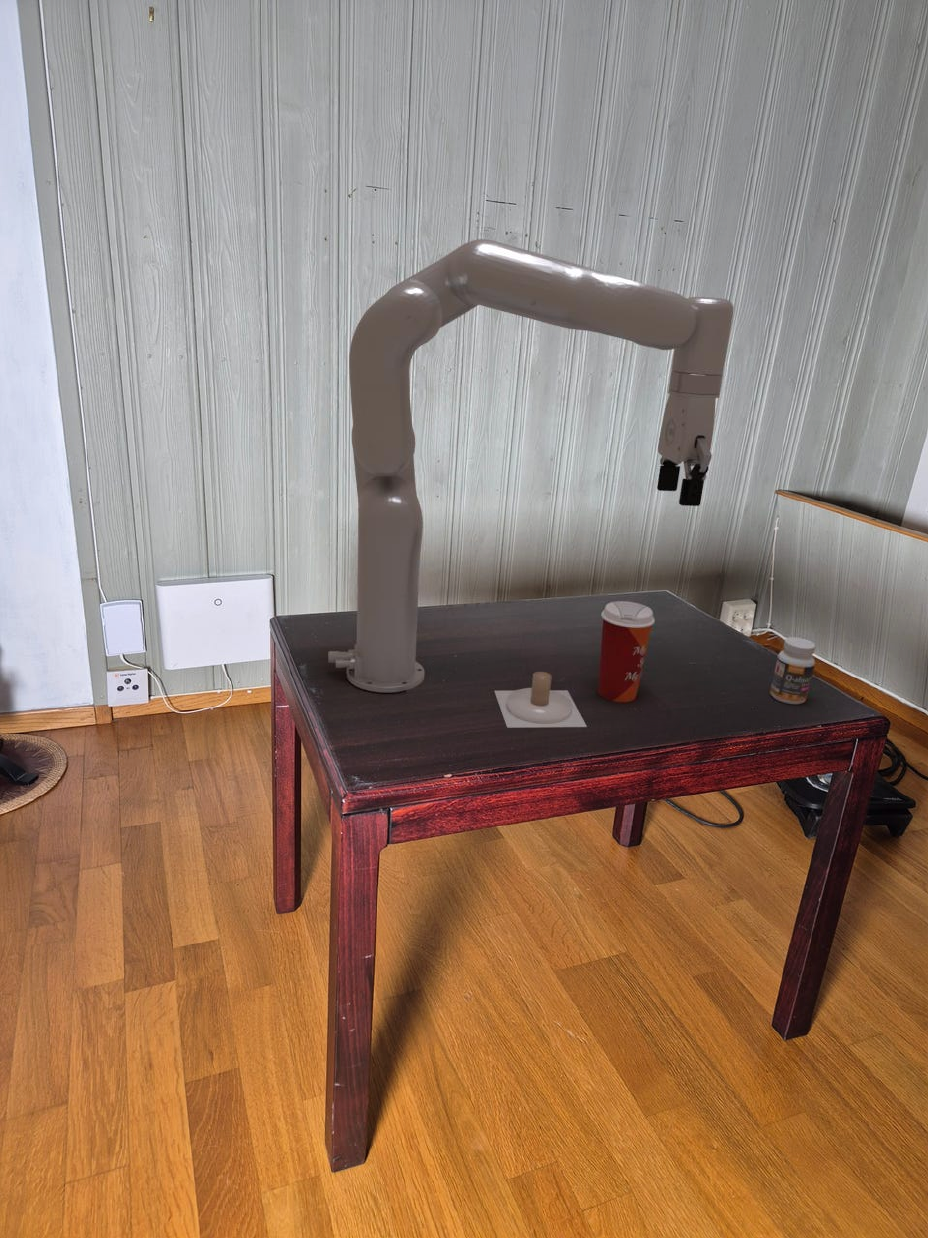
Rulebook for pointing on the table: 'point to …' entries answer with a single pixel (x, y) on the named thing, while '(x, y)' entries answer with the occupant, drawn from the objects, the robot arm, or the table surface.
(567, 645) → the table surface
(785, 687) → the pill bottle
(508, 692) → the mat
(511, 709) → the lid
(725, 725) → the table surface
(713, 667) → the table surface
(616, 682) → the coffee cup
